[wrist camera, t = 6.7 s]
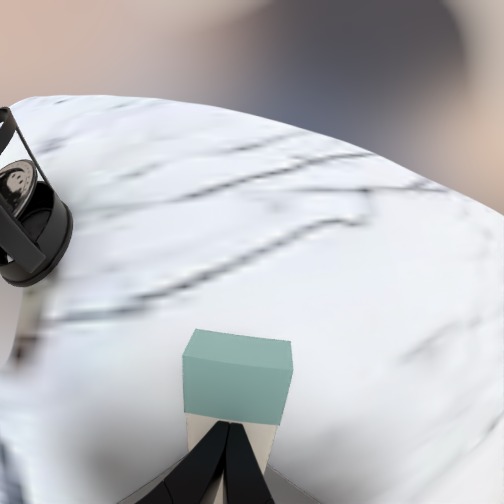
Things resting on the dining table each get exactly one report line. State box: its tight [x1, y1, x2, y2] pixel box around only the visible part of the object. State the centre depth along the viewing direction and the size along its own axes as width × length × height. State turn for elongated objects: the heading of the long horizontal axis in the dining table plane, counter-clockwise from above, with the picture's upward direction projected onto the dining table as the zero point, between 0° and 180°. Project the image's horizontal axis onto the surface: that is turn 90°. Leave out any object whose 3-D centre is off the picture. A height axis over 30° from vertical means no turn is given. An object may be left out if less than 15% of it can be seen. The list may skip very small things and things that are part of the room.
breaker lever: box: [183, 329, 293, 504], centre depth 10 cm, size 2×3×11 cm
